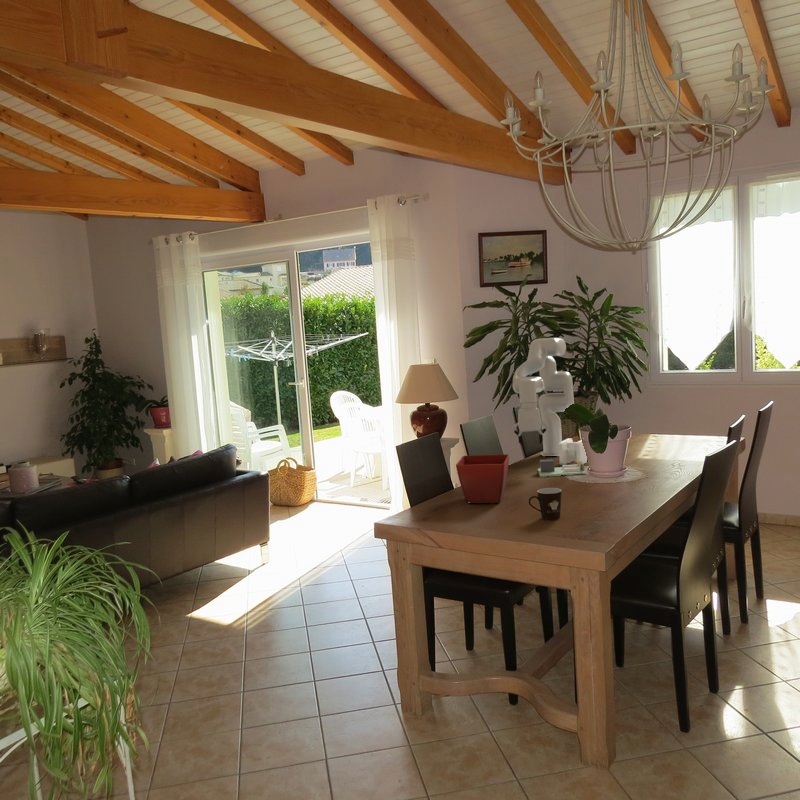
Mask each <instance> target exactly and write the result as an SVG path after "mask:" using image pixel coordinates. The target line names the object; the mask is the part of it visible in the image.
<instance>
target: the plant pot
mask: <svg viewBox="0 0 800 800" xmlns="http://www.w3.org/2000/svg"><path fill="white" fill-rule="evenodd" d="M509 459H510V454H506V453H505V454H504V453H503V454H476V455H475V454H474V455H473V454H472V455H469V454H468V455H463V456H462V457H460V459H459V460H458V462H457V463H456V464H455V468H456V473H457V476H458V480H459V484H460V488H461V490H462V492H463V496H464V498H465V500H466V502H467V503H468V502H470V503H498V504H500V503H501V501H502V499H503V497H504V492H505V488H506V484H507V478H508V470H509V463H510V461H509ZM499 502H500V503H499Z"/></svg>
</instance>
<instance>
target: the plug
mask: <svg viewBox="0 0 800 800" xmlns="http://www.w3.org/2000/svg"><path fill="white" fill-rule="evenodd" d="M539 467H540V470H541V472H555V471H554V468H555V460H554V459H553V458H550V459H539Z"/></svg>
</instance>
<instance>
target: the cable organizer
mask: <svg viewBox="0 0 800 800" xmlns="http://www.w3.org/2000/svg"><path fill="white" fill-rule="evenodd" d="M558 448H559V456H558V458H559V459H558V461H559V465H561V466H562V465H568V464H570V463H572V462H574V463H577V464H578V466H579V460H580V461H582V462H583V463H584V464H587V463H588V462H587V456H586V452H585V449H584V446H583V443H582V439H581V440H578V441H574V440H573V438H571V437H570V438H569V437H567V438H566V439H563V440H562V442H560V443H559V445H558Z"/></svg>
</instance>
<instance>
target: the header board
mask: <svg viewBox="0 0 800 800" xmlns="http://www.w3.org/2000/svg"><path fill="white" fill-rule="evenodd" d="M585 470H586V469H585V463H583V462H582V461H580V460H579V465H578V464H576V463H575V464H566V465H561V466H560V467H559V466H558V467H554V471H555V472H541V470H540V468H537V471H538V476H539V477H540V478H544V477H546V478H547V476H549V477H562V476H561V475H567V476H569V475H568V474H580V473H585V474H586V471H585Z"/></svg>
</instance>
